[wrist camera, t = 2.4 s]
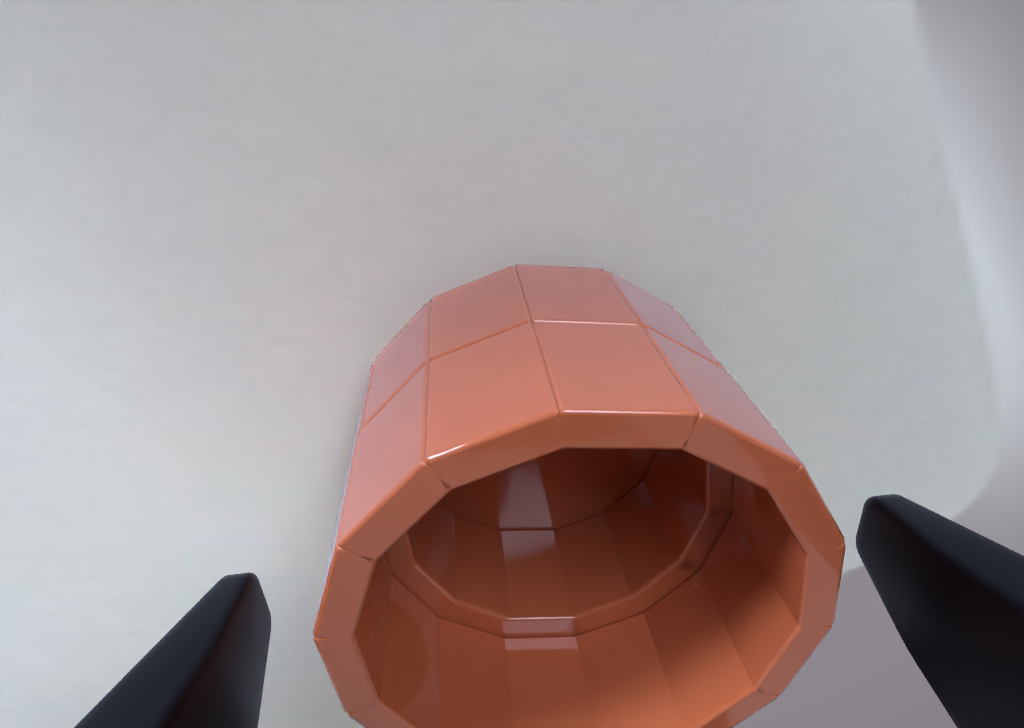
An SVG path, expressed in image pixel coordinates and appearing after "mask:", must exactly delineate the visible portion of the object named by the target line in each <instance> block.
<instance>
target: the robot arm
mask: <svg viewBox="0 0 1024 728" xmlns="http://www.w3.org/2000/svg"><path fill="white" fill-rule="evenodd" d="M856 546H857V550H858V553H859V555H860V558H861V559H862V561H863V563H864V565H865V567H866V569H867V571H868V573H869V575H870V577H871V579H872V581H873V583H874V585H875V587H876V589H877V591H878V593H879V595H880V597H881V599H882V601H883V603H884V605H885V607H886V609H887V611H888V613H889V615H890V616H891V618H892V620H893V622H894V624H895V626H896V628H897V630H898V632H899V634H900V636H901V638H902V640H903V641H904V643H905V645H906V647H907V649H908V650H909V652H910V653H911V655H912V657H913V658H914V660H915V662H916V663H917V665H918V667H919V668H920V670H921V671H922V673H923V674H924V676H925V678H926V679H927V681H928V682H929V684H930V685H931V687H932V688H933V690H934V692H935V693H936V695H937V696H938V698H939V699H940V701H941V702H942V704H943V706H944V707H945V709H946V710H947V712H948V714H949V715H950V717H951V718H952V720H953V722H954V723H955V724H956V726H957V727H958V728H1024V556H1022V555H1021V554H1018V553H1016V552H1014V551H1012V550H1010V549H1008V548H1006V547H1004V546H1002V545H1000V544H998V543H996V542H994V541H992V540H990V539H988V538H986V537H984V536H982V535H980V534H978V533H975V532H974V531H971V530H969V529H967V528H965V527H963V526H961V525H959V524H957V523H955V522H953V521H951V520H949V519H947V518H945V517H943V516H941V515H939V514H937V513H935V512H933V511H931V510H929V509H927V508H925V507H922V506H920V505H918V504H916V503H914V502H912V501H910V500H908V499H906V498H904V497H902V496H900V495H895V494H890V495H882V496H873V497H870V498H868V499H867V501H866V502H865V504H864V507H863V511H862V515H861V519H860V523H859V527H858V531H857V535H856ZM270 632H271V615H270V611H269V608H268V605H267V602H266V599H265V597H264V594H263V591H262V588H261V585H260V583H259V580H258V578H257V576H256V575H255V574H253V573H242V574H234V575H228V576H225V577H223V578H222V579H220V580H219V581H218V582H217V583H216V584H215V585H214V586H213V587H212V588H211V589H210V590H209V591H208V592H207V593H206V594H205V595H204V596H203V597H202V599H201V600H200V601H199V602H198V603H197V604H196V605H195V606H194V607H193V608H192V609H191V610H190V611H189V612H188V613H187V614H186V615H185V616H184V617H183V618H182V619H181V620H180V621H179V622H178V623H177V624H176V625H175V626H174V627H173V628H172V629H171V630H170V631H169V632H168V633H167V634H166V635H165V636H164V637H163V638H162V639H161V640H160V641H159V642H158V643H157V644H156V645H155V646H154V647H153V648H152V649H151V650H150V651H149V652H148V653H147V654H146V655H145V656H144V657H143V658H142V659H141V660H140V661H139V662H138V663H137V664H136V665H135V666H134V667H133V668H132V669H131V671H130V672H129V673H128V674H127V675H126V676H125V677H124V678H123V679H122V680H121V681H120V682H119V683H118V684H117V685H116V686H115V687H114V688H113V689H112V690H111V691H110V692H109V693H108V694H107V695H106V696H105V697H104V698H103V699H102V700H101V701H100V702H99V703H98V704H97V705H96V706H95V707H94V708H93V709H92V710H91V711H90V712H89V713H88V714H87V715H86V716H85V717H84V718H83V719H82V720H81V721H80V722H79V723H78V724H77V725H76V726H75V727H74V728H257V727H258V721H259V713H260V706H261V699H262V691H263V684H264V676H265V669H266V662H267V654H268V647H269V640H270Z"/></svg>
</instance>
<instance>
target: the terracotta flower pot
mask: <svg viewBox="0 0 1024 728" xmlns="http://www.w3.org/2000/svg"><path fill="white" fill-rule="evenodd" d="M844 553H845V543H844V537H843V535H842V533H841V531H840V529H839V528H838V526H837V524H836V522H835V520H834V518H833V517H832V515H831V513H830V511H829V509H828V508H827V506H826V504H825V502H824V500H823V498H822V497H821V495H820V493H819V491H818V489H817V488H816V486H815V484H814V482H813V480H812V478H811V477H810V475H809V473H808V471H807V469H806V467H805V466H804V464H803V463H802V462H801V461H800V459H799V458H798V457H797V456H796V455H795V453H794V452H793V451H792V450H791V448H790V447H789V446H788V445H787V444H786V442H785V441H784V440H783V439H782V438H781V436H780V435H779V434H778V433H777V431H776V430H775V429H774V428H773V427H772V425H771V424H770V423H769V422H768V421H767V419H766V418H765V417H764V416H763V414H762V413H761V412H760V411H759V410H758V408H757V407H756V406H755V405H754V404H753V402H752V401H751V400H750V399H749V397H748V396H747V395H746V394H745V393H744V391H743V390H742V389H741V388H740V387H739V385H738V384H737V383H736V382H735V380H734V379H733V378H732V377H731V376H730V374H728V373H727V371H726V370H725V368H724V367H723V366H722V365H721V364H720V362H719V361H718V360H717V359H716V357H715V356H714V355H713V354H712V353H711V351H710V350H709V349H708V348H707V347H706V345H705V344H704V343H703V342H702V340H701V339H700V338H699V337H698V336H697V334H696V333H695V332H694V331H693V330H692V328H691V327H690V326H689V325H688V323H687V322H686V321H685V320H684V319H683V317H682V316H681V315H680V314H679V313H678V311H676V310H674V308H673V307H671V306H670V305H668V304H666V303H664V302H663V301H661V300H659V299H657V298H655V297H654V296H652V295H650V294H648V293H647V292H645V291H643V290H641V289H639V288H638V287H636V286H634V285H632V284H631V283H629V282H627V281H625V280H623V279H622V278H620V277H618V276H616V275H614V274H613V273H611V272H607V271H605V270H604V269H598V268H578V267H557V266H537V265H516V266H510V267H507V268H505V269H502V270H500V271H497V272H495V273H492V274H490V275H487V276H485V277H482V278H480V279H477V280H475V281H472V282H470V283H467V284H465V285H462V286H460V287H457V288H455V289H452V290H450V291H447V292H445V293H442V294H440V295H437V296H435V297H433V298H432V299H431V302H428V303H426V304H425V305H424V306H423V307H422V308H421V309H420V310H419V311H418V312H417V313H416V315H415V316H414V317H413V318H412V319H411V320H410V321H409V322H408V323H407V324H406V325H405V326H404V328H403V329H402V330H401V331H400V332H399V333H398V334H397V335H396V336H395V337H394V338H393V339H392V341H391V342H390V343H389V344H388V345H387V346H386V347H385V348H384V349H383V350H382V351H381V352H380V354H379V355H378V356H377V357H376V359H375V362H374V363H373V364H372V365H371V369H370V373H369V377H368V381H367V385H366V389H365V393H364V397H363V401H362V405H361V409H360V413H359V418H358V422H357V426H356V430H355V435H354V440H353V444H352V449H351V454H350V459H349V463H348V468H347V473H346V478H345V482H344V487H343V492H342V497H341V502H340V507H339V511H338V515H337V520H336V525H335V530H334V534H333V539H332V544H331V549H330V553H329V558H328V563H327V568H326V572H325V577H324V582H323V587H322V592H321V596H320V601H319V606H318V611H317V615H316V620H315V625H314V630H313V634H314V642H315V644H316V646H317V649H318V651H319V653H320V655H321V658H322V660H323V662H324V665H325V667H326V669H327V672H328V674H329V676H330V678H331V681H332V683H333V685H334V688H335V690H336V692H337V695H338V697H339V699H340V701H341V704H342V706H343V708H344V711H345V712H347V713H348V715H349V716H350V717H351V718H352V719H354V720H355V721H357V722H358V723H360V724H361V725H362V726H364V727H365V728H732V727H734V726H735V725H737V724H738V723H740V722H742V721H743V720H745V719H746V718H748V717H749V716H751V715H752V714H754V713H755V712H757V711H758V710H760V709H761V708H763V707H764V706H766V705H767V704H769V703H771V702H772V701H774V700H775V699H776V698H777V696H778V695H781V694H782V693H783V691H784V690H785V689H786V687H787V686H788V685H789V683H790V682H791V681H792V679H793V678H794V677H795V675H796V674H797V673H798V671H799V670H800V669H801V667H802V666H803V665H804V664H805V662H806V661H807V660H808V658H809V657H810V656H811V654H812V653H813V652H814V650H815V649H816V648H817V646H818V645H819V644H820V643H821V641H822V640H823V638H824V637H825V636H826V634H827V633H828V632H829V631H830V629H831V627H832V624H833V623H834V617H835V612H836V605H837V598H838V592H839V585H840V579H841V572H842V566H843V559H844Z"/></svg>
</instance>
